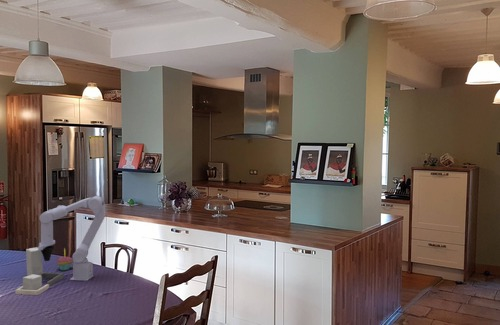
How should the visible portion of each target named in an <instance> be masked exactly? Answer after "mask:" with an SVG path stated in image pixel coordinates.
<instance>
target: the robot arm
mask: <svg viewBox="0 0 500 325" xmlns="http://www.w3.org/2000/svg"><path fill="white" fill-rule="evenodd" d="M105 206H106V205H105V201H104V199H103V198H102V197H101V196H99V195H95V196H92V197H91V196H90V197H88V198H84V199H81V200H78V201H77V202H76V201H75V202H73V203H72V204H69V205H67V206H66V205H64V204H63V205H57V207H55V208H52V209H51V208H50V209H47V211H44V212H43V213H41V214H40V215H39V219H38V220H39V222H40V242H39V243H38V247H37V248H38V250H41V252H42V258H43V260H44V262H49V261H50V260H51V255H52V253H53V250H54V249H55V246H54V245H55V244H56V240H55V239H54V225H53V224H54V223H53V222H54V221H56V220H59V219H60V218H63V217H66V216H68V214H69V213H70V212H72V211H75V210H79V209H80V208H86V209H88V208H89V209H90V210H91V212H93V215H94V218H93V220H92V221H91V224H90V225H89V227H88V229H87V232H86V234H85V235H84V238H83V240H82V241H81V242H80V245H79V247H78V248H76V250H75V252H73V254H72V256H71V258H72V259H73V262H72V277H71V278H70V279H69V280H70V281H87V282H88V281H89V280H91V279H92V278H93V277H94V265H93V262H92V261H89V260H88V258H87V257H88V255H89V250H90V247H91V245H92V243H93V241H94V239H95V237H96V235H97V233H98V231H99V229H100V228H101V225H102V223H103V222H104V220H105V218H106V208H105Z"/></svg>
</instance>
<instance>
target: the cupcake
mask: <svg viewBox="0 0 500 325" xmlns="http://www.w3.org/2000/svg"><path fill="white" fill-rule="evenodd" d="M63 252H64V254H63V256H60V257H59V258H57V260H56V264H57V266H58V268H59V270H60V271H68V270H70V267H71V264H73V261H74V260H73V258H72V256H71V257H70V256H66V248H63Z"/></svg>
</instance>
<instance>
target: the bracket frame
mask: <svg viewBox="0 0 500 325" xmlns="http://www.w3.org/2000/svg"><path fill="white" fill-rule="evenodd" d="M49 289H50V287H49V284H47V283H46V284H45V285H42V287H41V288H40V289H38V290H23V285H22V286H20V287H18V288H17V289H15V290H14V292H15V293H14V295H21V294H22V296H23V295H24V296H27V295H28V296H40V295H41V294H42V293H44V292H46V291H47V290H49Z"/></svg>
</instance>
